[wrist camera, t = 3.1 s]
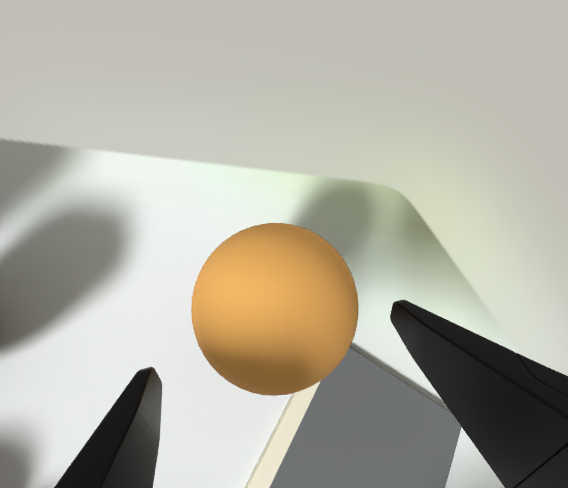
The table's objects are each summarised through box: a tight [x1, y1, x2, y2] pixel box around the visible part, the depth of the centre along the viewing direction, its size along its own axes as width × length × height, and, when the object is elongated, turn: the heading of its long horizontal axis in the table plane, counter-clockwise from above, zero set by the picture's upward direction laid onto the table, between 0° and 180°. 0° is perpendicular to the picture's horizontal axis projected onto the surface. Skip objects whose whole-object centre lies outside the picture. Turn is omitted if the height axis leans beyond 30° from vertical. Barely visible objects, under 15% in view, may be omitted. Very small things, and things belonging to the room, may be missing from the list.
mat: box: [245, 347, 462, 488], centre depth 16 cm, size 12×12×1 cm
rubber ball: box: [191, 223, 358, 396], centre depth 10 cm, size 6×6×6 cm
